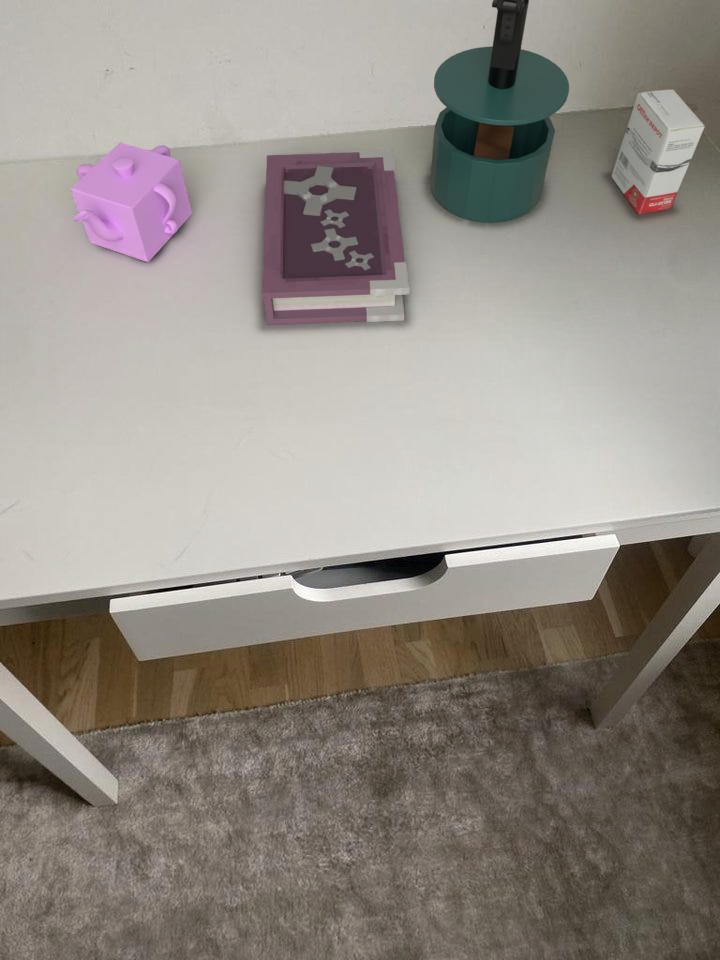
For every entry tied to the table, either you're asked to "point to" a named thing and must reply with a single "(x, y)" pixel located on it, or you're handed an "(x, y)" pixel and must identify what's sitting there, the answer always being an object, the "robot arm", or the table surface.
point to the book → (333, 239)
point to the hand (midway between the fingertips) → (505, 57)
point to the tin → (488, 170)
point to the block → (493, 141)
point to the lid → (501, 86)
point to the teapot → (132, 200)
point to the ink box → (656, 150)
